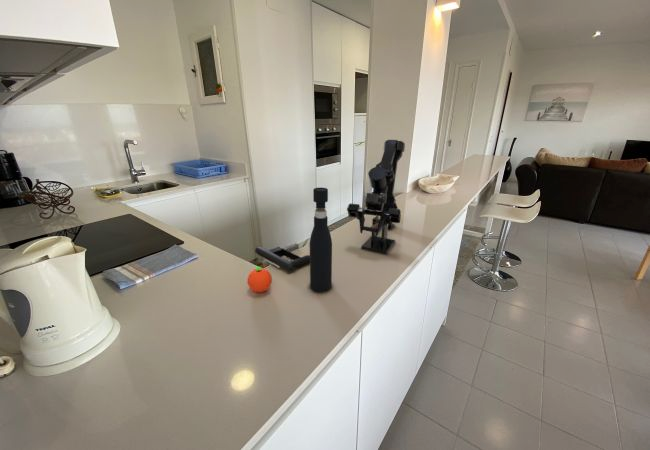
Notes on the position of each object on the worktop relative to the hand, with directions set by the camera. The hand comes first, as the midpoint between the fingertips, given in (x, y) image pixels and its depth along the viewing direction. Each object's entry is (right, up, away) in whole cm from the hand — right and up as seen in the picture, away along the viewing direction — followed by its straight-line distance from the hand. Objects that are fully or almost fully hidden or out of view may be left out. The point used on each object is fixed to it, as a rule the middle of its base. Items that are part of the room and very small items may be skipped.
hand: (368, 234), depth 96 cm
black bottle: (-16, -16, -12) cm, 26 cm away
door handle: (-29, -9, +5) cm, 31 cm away
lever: (+3, +2, +6) cm, 8 cm away
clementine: (-34, -16, -14) cm, 40 cm away
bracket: (+6, -5, +14) cm, 17 cm away
